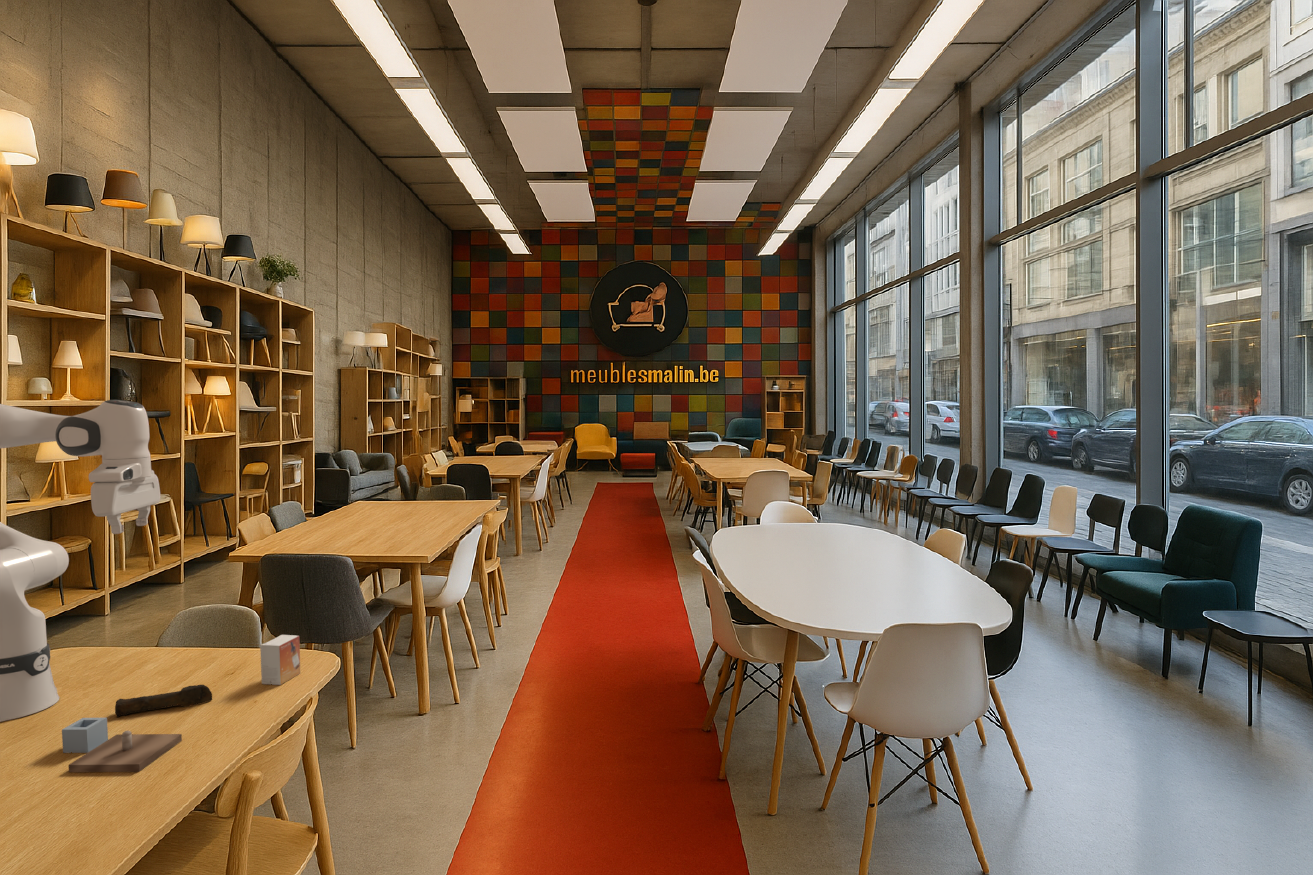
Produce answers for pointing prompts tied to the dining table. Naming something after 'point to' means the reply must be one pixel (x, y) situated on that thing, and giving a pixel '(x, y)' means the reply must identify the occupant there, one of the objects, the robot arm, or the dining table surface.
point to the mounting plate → (125, 753)
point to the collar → (84, 735)
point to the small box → (280, 659)
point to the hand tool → (164, 700)
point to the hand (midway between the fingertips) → (130, 529)
